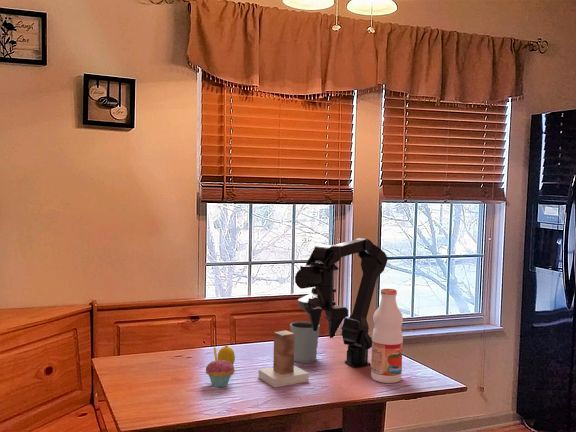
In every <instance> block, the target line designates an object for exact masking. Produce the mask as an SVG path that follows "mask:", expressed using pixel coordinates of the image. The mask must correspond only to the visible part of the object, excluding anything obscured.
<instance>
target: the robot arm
mask: <svg viewBox="0 0 576 432" xmlns="http://www.w3.org/2000/svg"><path fill="white" fill-rule="evenodd" d="M355 254H357V256H358V258H360V267H361V271H362V275H361V279H360V284H359V286H358V290H357V294H356V298H355V302H354V306H353V309H352V313H351V315H350V316H349V309H348V308H347V307H345V306H343V305H340V304H339V305H336V304H337V302H336V301H334V293H337V289H336V288H335V287H334V283H335V282H334V280H335V279H334V277H335V275H334V274H335V271H339V267H338V266H337V265H336V263H338V262H340V261H341V259H342V258H344V257H347V256H351V255H355ZM387 263H388V256H387V254H386V252H385V251H383V249H381V248H380V247H379V246H377V245H376V244H374V243H373V242H372V241H371V240H370V239H368V238H363V237H362V238H361V237H357V238H355V239H353V240H349V241H345V242H339V243H336V244H316V245H315V246H314V248H313V250H312V252H311V254H310V256H309V258H308V259H307V261H306V263H305V265H300V268H299V270H297V272H296V273H295V276H294V280H295V282H294V283H295V284H296V286H297V287H298V288H299V289H310V288H311V292H310V293H309V294H306V295H303V296H301V297H300V298H298V299H297V302H298V305H299V308H300V310H303V311H304V312H306V314H308V317H309V322H311V324H312V328H313V331H317V328H318V325H320V320H321V317H322V312H324V314H325V315H326V316H324V318H325V319H326V320H327V322H328V335H329V339H333V338H335V337H334V336H335V334H336V333H337V331H338V329H339V327H340V325H341V323H342V322H343V324H342V325H341V326H342V327H341V328H340V330H341V336H342V341H343V344H344V345H347V350H346V360H344V363H345V364H347V365H350V366H352V367H354V368H360V367H365V366H371V362H369V360H368V359H369V350H370V349H372V336H370V334H369V329H370V327H369V323H368V320H367V318H368V314H369V310H370V306H371V303H372V299H373V295H374V291H375V287H376V283H377V280H378V278H379V276H381V274H382V273H383V272H384V271H385V268H386V266H387Z"/></svg>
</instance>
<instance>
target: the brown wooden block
mask: <svg viewBox="0 0 576 432" xmlns="http://www.w3.org/2000/svg"><path fill="white" fill-rule="evenodd" d="M294 335H295V334H294V333H292V332H291V331H290V330H287V329H286V330H280V331H274V332H273V361H272V362H273V371H275V372H277V373H279V374H281V375H283V374H287V373H292V372H294V366H295V361H294Z"/></svg>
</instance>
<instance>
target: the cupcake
mask: <svg viewBox="0 0 576 432" xmlns="http://www.w3.org/2000/svg"><path fill="white" fill-rule="evenodd" d="M213 355H214V360H212V361H210V362H209V363H207V364H208V365H206V366H205V375H208V377H209V379H210V382H211V386H213V387H217V388H223V387H226V386H228V384H229V381H230V379H231V377H232V375H234V374H235V371H236V369H235V366H234V364H232V363H230V362H229V361H227V360H226V361H225V360H218V353H217V349H216V346H215V345H213Z"/></svg>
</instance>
